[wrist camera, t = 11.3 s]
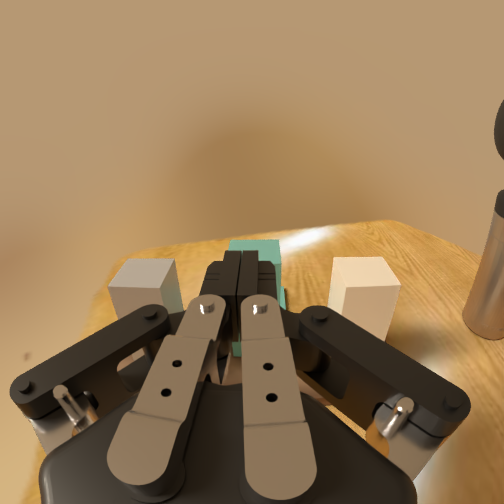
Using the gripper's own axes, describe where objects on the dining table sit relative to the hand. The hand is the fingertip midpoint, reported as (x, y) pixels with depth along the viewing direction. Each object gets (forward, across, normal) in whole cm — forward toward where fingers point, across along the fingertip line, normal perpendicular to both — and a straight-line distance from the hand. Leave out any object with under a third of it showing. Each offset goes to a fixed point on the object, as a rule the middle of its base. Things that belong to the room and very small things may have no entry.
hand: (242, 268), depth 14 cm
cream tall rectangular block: (+10, -10, +18) cm, 23 cm away
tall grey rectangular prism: (+10, +10, +18) cm, 23 cm away
